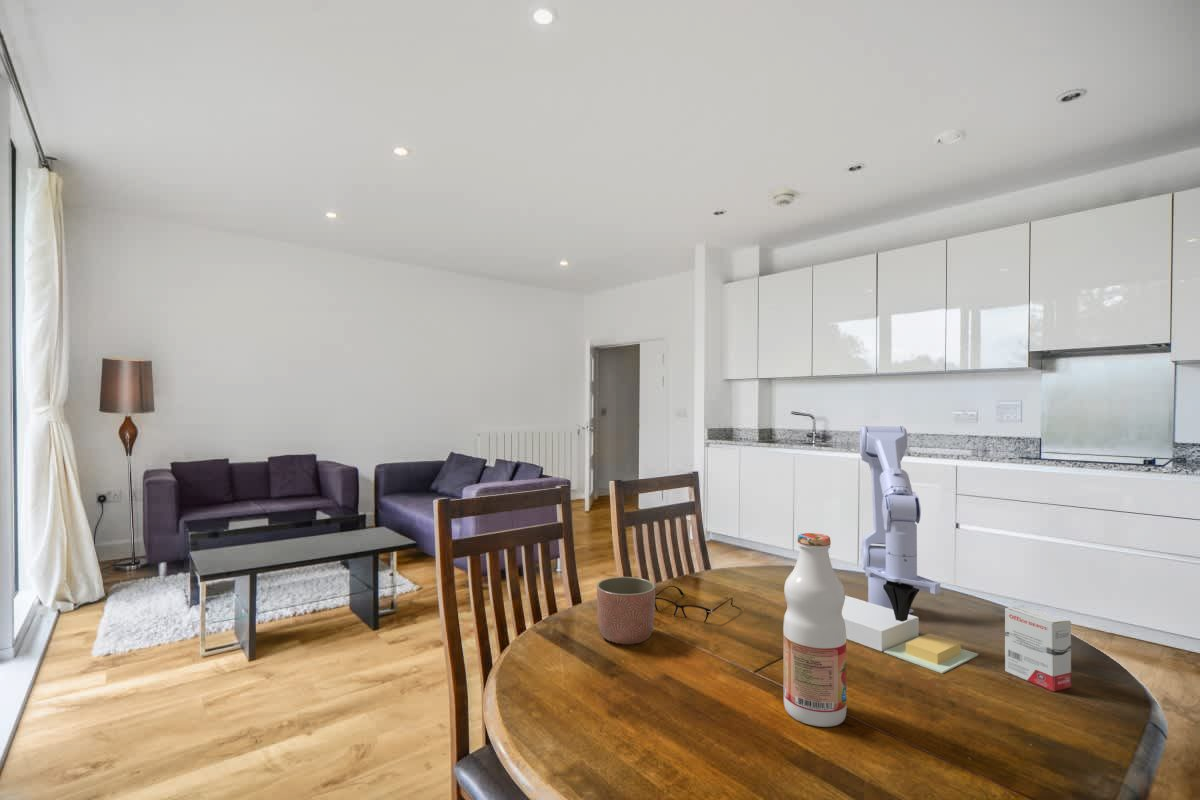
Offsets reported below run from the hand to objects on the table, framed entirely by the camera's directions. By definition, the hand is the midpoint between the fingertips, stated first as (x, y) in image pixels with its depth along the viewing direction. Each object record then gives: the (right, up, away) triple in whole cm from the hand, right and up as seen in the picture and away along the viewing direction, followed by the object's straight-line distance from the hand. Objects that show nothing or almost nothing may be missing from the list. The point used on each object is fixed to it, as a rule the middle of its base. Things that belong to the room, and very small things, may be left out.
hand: (901, 619), depth 119 cm
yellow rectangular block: (+4, -3, -5) cm, 7 cm away
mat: (+3, -5, -5) cm, 8 cm away
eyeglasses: (-39, -6, +21) cm, 45 cm away
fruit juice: (-28, -5, -27) cm, 39 cm away
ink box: (+16, -5, -15) cm, 23 cm away
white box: (-6, -5, +9) cm, 12 cm away
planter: (-56, -5, +3) cm, 57 cm away
